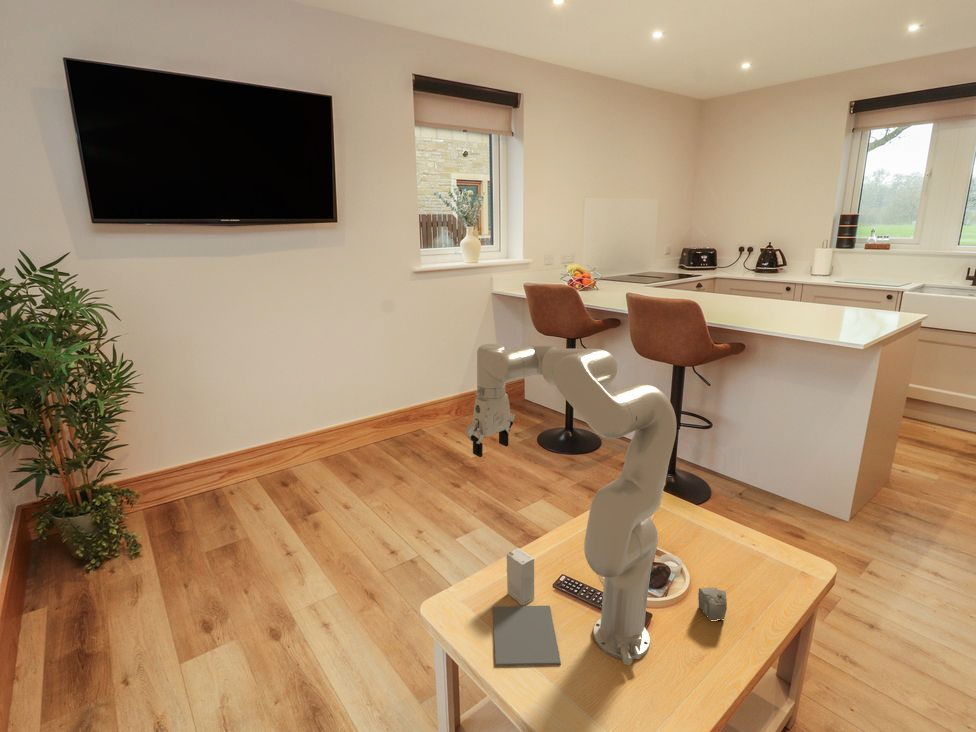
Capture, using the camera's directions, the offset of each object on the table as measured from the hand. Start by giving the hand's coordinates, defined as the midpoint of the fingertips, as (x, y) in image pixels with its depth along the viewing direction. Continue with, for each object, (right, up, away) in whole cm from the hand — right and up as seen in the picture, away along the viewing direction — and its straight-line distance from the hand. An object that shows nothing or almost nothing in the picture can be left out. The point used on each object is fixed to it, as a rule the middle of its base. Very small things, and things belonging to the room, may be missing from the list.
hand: (490, 450), depth 143 cm
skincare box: (+7, -36, -10) cm, 38 cm away
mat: (+8, -39, -22) cm, 46 cm away
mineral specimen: (+54, -38, -17) cm, 68 cm away
